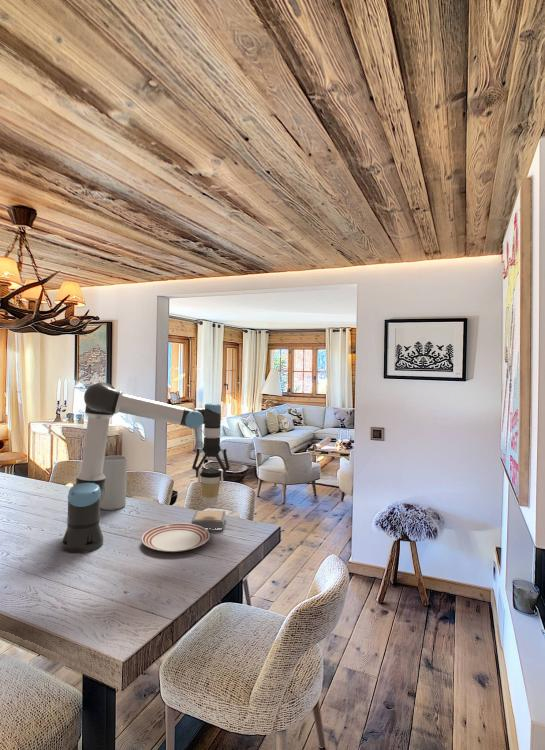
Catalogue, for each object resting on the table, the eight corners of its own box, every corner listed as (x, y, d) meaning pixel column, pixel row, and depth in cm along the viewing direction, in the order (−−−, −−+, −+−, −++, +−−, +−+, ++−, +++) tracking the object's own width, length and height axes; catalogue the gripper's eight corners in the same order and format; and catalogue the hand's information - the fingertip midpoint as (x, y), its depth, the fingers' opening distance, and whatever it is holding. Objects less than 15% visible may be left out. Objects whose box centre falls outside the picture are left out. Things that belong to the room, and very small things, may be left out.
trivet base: (222, 530, 186) (223, 521, 186) (191, 529, 185) (191, 520, 185) (225, 519, 200) (225, 510, 200) (196, 518, 199) (196, 510, 199)
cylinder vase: (109, 512, 204) (111, 461, 204) (94, 507, 211) (95, 458, 211) (130, 505, 215) (132, 457, 215) (114, 501, 221) (116, 454, 221)
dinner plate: (211, 555, 161) (212, 546, 161) (138, 559, 155) (138, 550, 155) (207, 529, 187) (207, 521, 187) (144, 531, 181) (144, 524, 181)
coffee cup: (221, 500, 198) (222, 468, 198) (219, 506, 188) (220, 473, 188) (200, 499, 197) (201, 468, 197) (197, 506, 187) (198, 473, 187)
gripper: (236, 436, 196) (235, 483, 197) (189, 434, 196) (187, 481, 196) (235, 438, 189) (234, 487, 189) (186, 437, 188) (184, 486, 188)
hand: (210, 484), depth 192 cm, fingers closed on coffee cup, 10 cm apart
